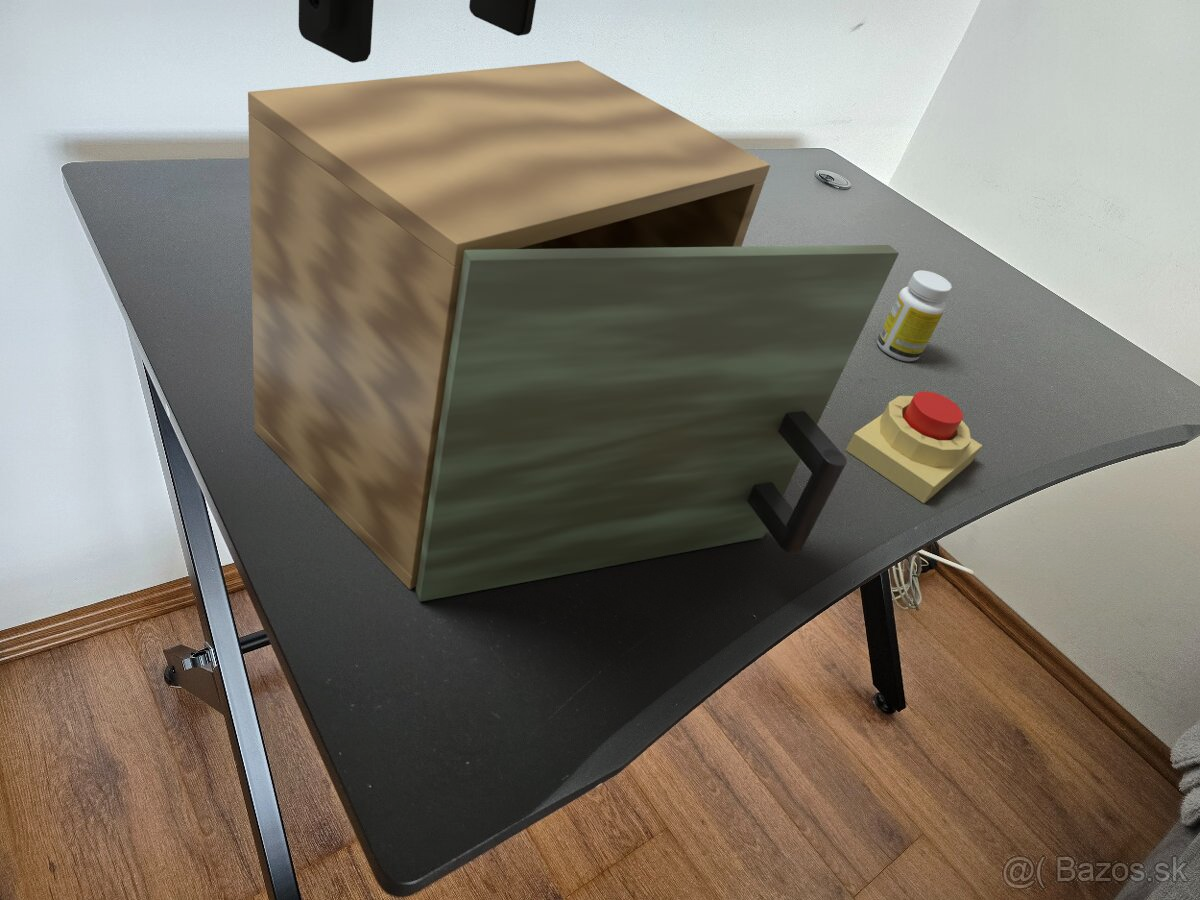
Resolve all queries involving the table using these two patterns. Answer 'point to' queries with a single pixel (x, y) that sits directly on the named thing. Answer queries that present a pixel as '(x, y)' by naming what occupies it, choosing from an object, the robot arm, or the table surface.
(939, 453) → the button block
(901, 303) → the supplement bottle
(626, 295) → the door
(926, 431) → the button
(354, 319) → the cupboard
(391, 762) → the table surface
